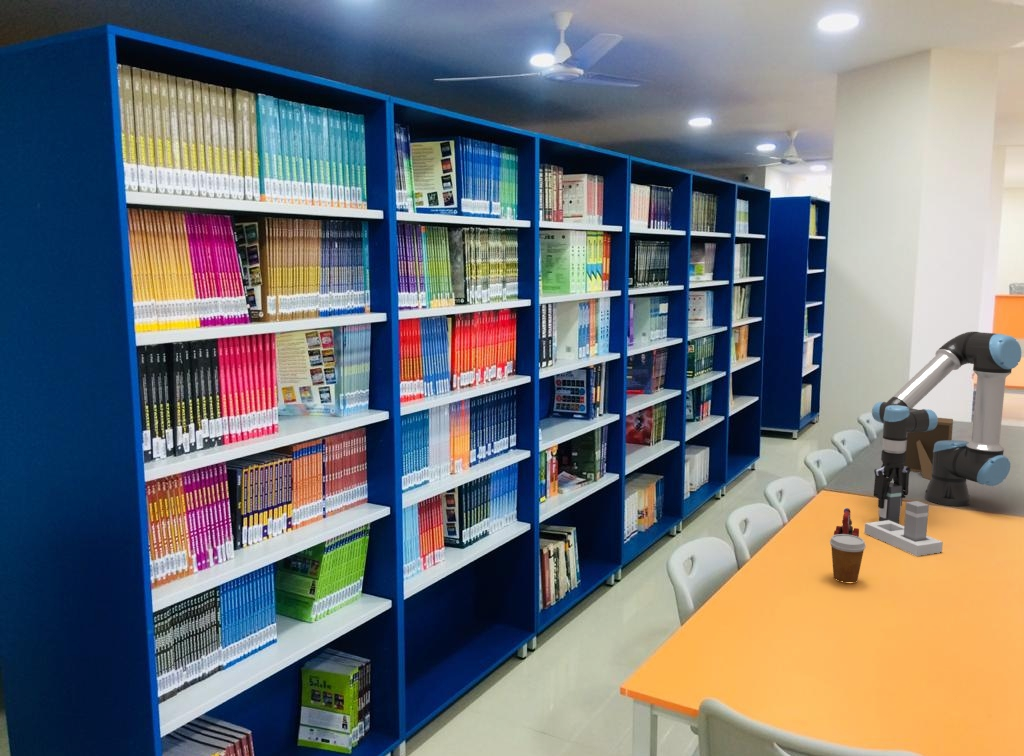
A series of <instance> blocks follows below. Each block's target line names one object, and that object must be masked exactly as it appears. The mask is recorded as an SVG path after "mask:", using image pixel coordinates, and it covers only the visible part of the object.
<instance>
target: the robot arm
mask: <svg viewBox="0 0 1024 756" xmlns="http://www.w3.org/2000/svg"><path fill="white" fill-rule="evenodd" d="M1021 359H1022V346H1021V345H1020V342H1019V341H1018V340H1017V339H1016V338H1015V337H1014V336H1011V335H1008V334H1004V333H1003V334H1002V333H993V332H980V331H967V332H964V333H961V334H959V335H957V336H955V337H952V338H951V339H949V341H947V342H945V343H944V344H943V345H942V346H941V347H939V348H938V349H937V350H936V351H935V356H934V357H933V358H931V360H930V361H929V362H928V363H927V364H925V365H924V366H923V367H922V368H921V369H920V370H919V371H918V372H917V373H916V374H915V375H914V376H912V377H911V379H910V380H908V382H906V383H905V384H904V385H903V386H902V387H901V388H899V390H898V391H897V392H895V394H894V395H893V396H892V397H890V399H888V400H887V401H886V402H885V401H878V402H876V403H875V404H874V405H873V407H872V411H871V414H872V418H873V419H874V420H875V421H876V422H879V423H881V424H883V429H882V445H881V449H882V450H881V456H880V460H881V462H882V463H881V468H878V469H877V468H875V469H874V484H873V485H874V486H873V497H875V498H876V499H877V498H878V499H877V500H878V501H877V502H878V503H877V506H878V507H877V508H878V517H879V516H880V517H882V518H886V514H887V500H886V495H887V492H888V488H889V485H890V483H891V482H892V481H893V483H895V484H898V485H901V486H902V490H901V504H900V512H901V507H902V505H903V499H905V498H906V496H908V495H909V483H910V480H909V479H910V472H911V471H910V470H911V468H909V467H906V466H904V463H905V461H906V453H905V451H906V448H907V434H908V433H912V432H926V431H930V430H933V429H935V428H936V426H937V422H938V418H939V417H938V416H937V413H936V412H935V411H934V410H932V409H926V408H922V409H916V408H914V407H916V405H917V404H918V403H920V402H921V401H922V400H923V399H924V398H925V397H926V396H927V395H928V394H929V393H930V392H931V391H932V390H933V389H934V388H935V387H936V386H938V384H939V383H941V382H942V381H943V380H944V379H945V378H946V377H947V376H948V375H949V374H950V373H951V372H953V371H956V370H959V369H960V368H961V367H962V366H964V365H967V364H971V365H973V368H972V371H973V372H974V373H975V374H976V375H977V376H976V386H975V387H976V389H975V398H974V399H975V400H974V410H973V420H972V432H971V440H970V441H967V440H958V439H957V440H955V439H953V440H944V441H938V442H936V443H935V444H934V450H933V460H932V476H931V480H930V479H929V482H928V485H927V487H926V489H925V491H924V499H925V500H926V499H927V500H926V501H928V500H929V502H931V503H933V502H934V504H937V503H938V505H943V506H949V505H950V507H951V506H952V507H965V506H969V505H970V504H971V495H970V494H969V489H968V485H967V481H971V482H975V483H977V484H980V485H985V486H989V487H993V486H997V485H1000V484H1002V483H1003V482H1004V480H1006V478H1007V477H1008V475H1009V474H1010V470H1011V461H1010V460H1009V458H1008V457H1007V456H1005V455H1004V452H1005V451H1004V450H1005V449H1004V446H1002V445H1001V444H1000V442H1001V441H1000V439H1001V429H1002V420H1003V411H1004V400H1005V399H1004V397H1005V391H1006V390H1005V387H1006V378H1007V377H1008V376H1009V375H1012V369H1015V368H1016V367H1017V366H1018V365H1019V363H1020V362H1021Z"/></svg>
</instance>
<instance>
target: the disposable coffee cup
mask: <svg viewBox="0 0 1024 756" xmlns="http://www.w3.org/2000/svg"><path fill="white" fill-rule="evenodd" d="M829 543H830V546H831V560H832V571H833V575H832V576H833V579H834V578H835V579H837V580H839V581H843V582H856V581H857V582H858V579H859V576H860V575H859V574H860V570H861V564H862V561H863V556H864V551H865V549H866V548H867V547H866V546H867V544H866V542H865V540H864V539H863V538H862V537H857V536H853V535H847V534H837V535H834V534H833V535H832V536H831V539H830V540H829ZM835 579H834V580H835ZM837 580H836V581H837ZM839 581H838V582H839ZM857 582H856V583H857Z"/></svg>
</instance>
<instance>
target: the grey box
mask: <svg viewBox="0 0 1024 756" xmlns="http://www.w3.org/2000/svg"><path fill="white" fill-rule="evenodd" d="M901 490H902V486H901V485H898V484H895V483H894V482H892V481H891V482H890V485H889V488H888V492H887V495H886V500H887V514H886V518H882V517H880V516H879V515H878V521H886V520H890V521H892V522H895V523H897V524H900V517H901V511H900V504H901Z"/></svg>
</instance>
